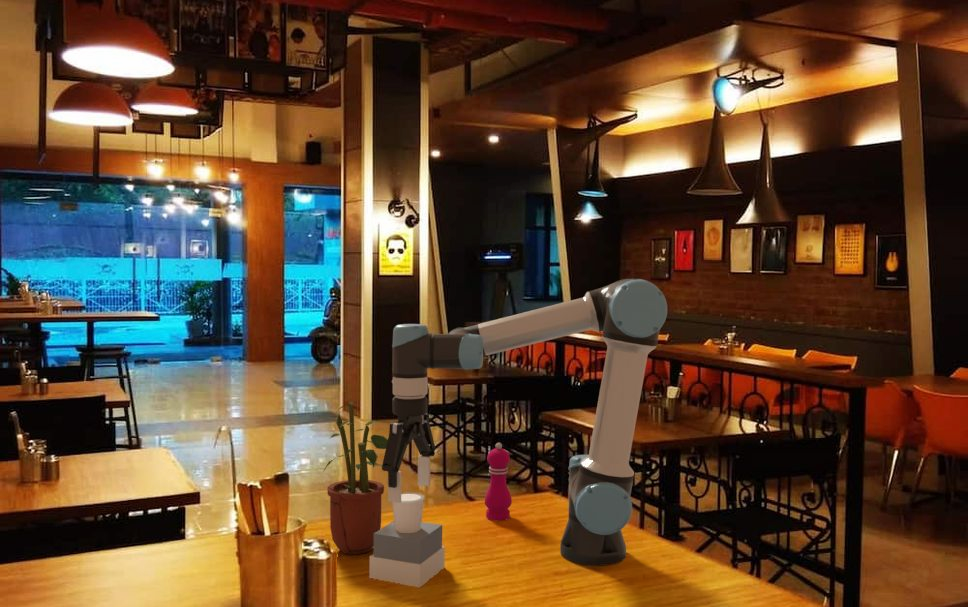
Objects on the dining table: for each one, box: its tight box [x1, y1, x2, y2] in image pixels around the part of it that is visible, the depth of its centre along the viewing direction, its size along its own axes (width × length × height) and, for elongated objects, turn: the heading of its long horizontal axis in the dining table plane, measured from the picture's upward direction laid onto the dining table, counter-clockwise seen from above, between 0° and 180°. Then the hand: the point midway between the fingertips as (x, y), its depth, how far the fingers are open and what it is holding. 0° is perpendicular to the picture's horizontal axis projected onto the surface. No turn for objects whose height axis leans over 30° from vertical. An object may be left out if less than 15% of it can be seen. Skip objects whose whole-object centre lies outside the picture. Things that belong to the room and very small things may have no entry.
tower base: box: [368, 545, 446, 588], centre depth 173 cm, size 12×12×5 cm
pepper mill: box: [484, 442, 513, 521], centre depth 211 cm, size 7×7×20 cm
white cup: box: [392, 492, 425, 533], centre depth 172 cm, size 7×7×7 cm
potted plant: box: [322, 402, 388, 555], centre depth 188 cm, size 17×16×35 cm
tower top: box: [373, 520, 443, 564], centre depth 172 cm, size 11×11×5 cm
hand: (409, 493), depth 172 cm, fingers open, 13 cm apart
